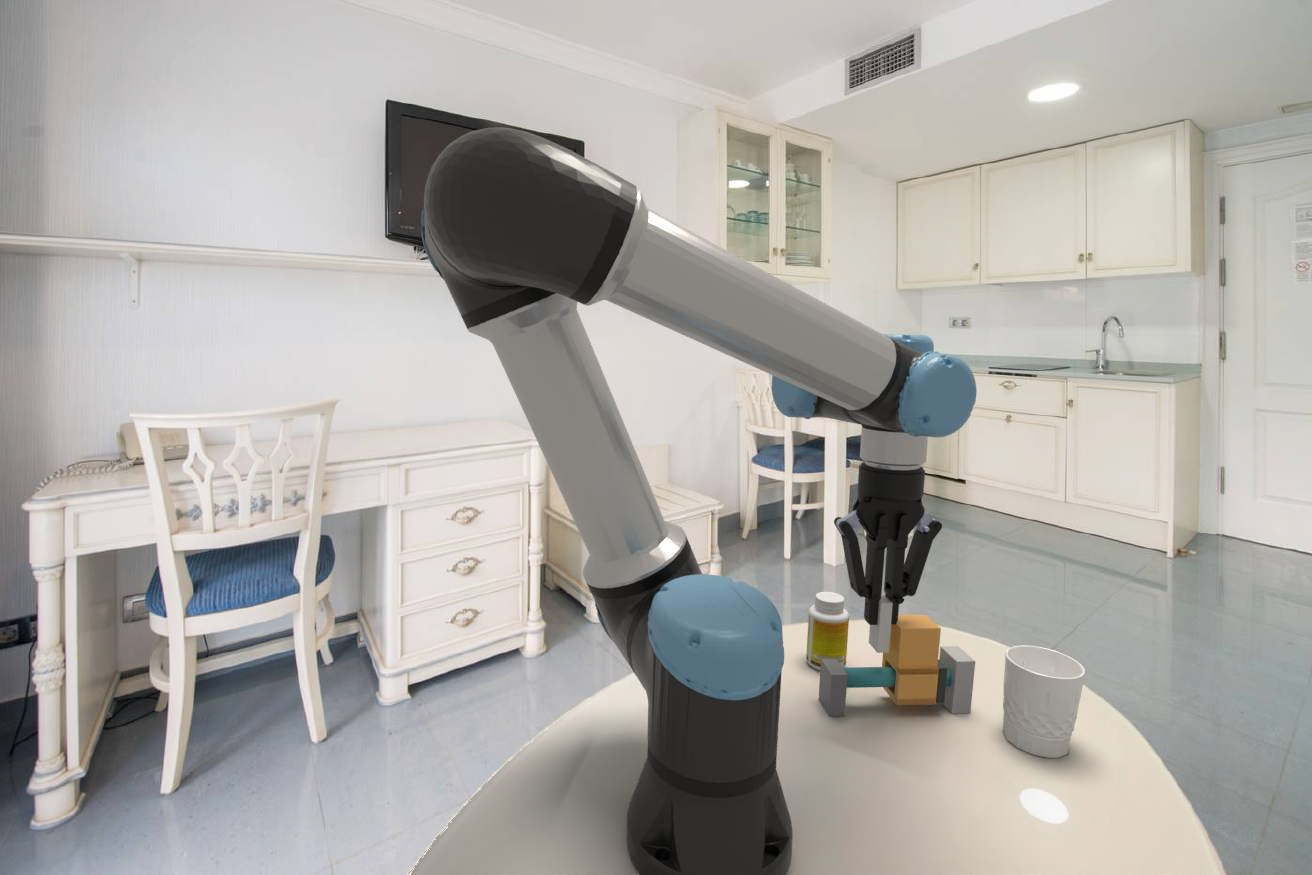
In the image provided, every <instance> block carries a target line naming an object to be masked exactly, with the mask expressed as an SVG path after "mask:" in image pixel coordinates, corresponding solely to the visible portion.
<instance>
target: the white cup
mask: <svg viewBox="0 0 1312 875" xmlns="http://www.w3.org/2000/svg"><path fill="white" fill-rule="evenodd" d="M1004 654H1005V656H1004V657H1005V658H1004V671H1003V672H1004V675H1003V699H1002V700H1003V701H1002V702H1003V703H1002V707H1003V721H1002V733H1003V735H1004V737H1005V738H1006V740H1007V741H1008V742H1010V744H1012V745H1014V746H1015V747H1016V748H1018V749H1020V750H1022V751H1024V752H1026V753H1028V754H1031V755H1035V756H1037V757H1038V756H1039V757H1043V758H1048V759H1049V758H1052V759H1053V758H1056V759H1057V758H1058V759H1059V758H1062V757H1064V756H1066V755H1068V753H1069V749H1070V744H1071V743H1070V742H1071V739H1072V738H1071V737H1072V736H1073V735H1072V734H1073V732H1074V730H1075V724H1076V721H1077V719H1078V712H1079V706H1080V702H1081V701H1080V700H1081V697H1082V691H1083V685H1084V680H1085V676H1086V669H1085V667H1084V666H1083V665H1082V664H1081V663H1080V662H1079V661H1078V660H1076V659H1074V658H1072V656H1069V655H1067V654H1065V653H1062V652H1060V651H1057V650H1054V649H1050V648H1046V647H1042V646H1038V645H1026V644H1023V645H1022V644H1021V645H1013V646H1011V647H1009V648H1007V649H1006V650H1005V653H1004Z"/></svg>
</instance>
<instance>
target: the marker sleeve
mask: <svg viewBox="0 0 1312 875" xmlns="http://www.w3.org/2000/svg"><path fill="white" fill-rule="evenodd" d="M941 630H942V629H941V627H940V626H939V625H938V624H937V623H935V622H934V621H933V620H932V619H931V618H930V617H929V616H928V615H926V614H898V621H897V623H896V624H891V632H890V646H889V653H882V661H881V667H893V668H894V669H895V671H896V682H895V687H882V688H883V689H884V691H885V692H886V693H887V695H888V696H889V697H890V699H891V700H892V701H893V702H894V704H896V706H907V705H908V706H912V705H915V706H916V705H936V704H937V703H936V695H937V684H938V674H939V668H938V667H937V665H938V660H939V655H940V644H941V643H940V642H941V633H942V632H941Z"/></svg>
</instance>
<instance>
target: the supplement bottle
mask: <svg viewBox="0 0 1312 875" xmlns="http://www.w3.org/2000/svg"><path fill="white" fill-rule="evenodd" d="M807 620H808V621H807V637H806V638H807V639H806V655H805V657H806V662H807V664H808V665H809V666H810V667H812V668H813V669H816V670H818V671H820V669H821V659H837V661H838V662H839V663H840V665H841V666H842V668H846V665H847V652H848V640H849V639H848V637H849V622H850V614H849V612H848V610H847V609H846V608H845V597H844V596H843V595H841V594H839V593H838V592H832V591H821V592H817V593H816V594H815V600H814V604H813V605H812V606H811V607H809V609H808V619H807Z"/></svg>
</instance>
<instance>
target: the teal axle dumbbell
mask: <svg viewBox="0 0 1312 875" xmlns="http://www.w3.org/2000/svg"><path fill="white" fill-rule="evenodd" d="M937 667H938V668H939V674H938V684H937V695H936V704H942V705H943V706H944V707H945V708H946V709H947V710H948V712H949V713H951V715H956V714H957V715H958V714H960V715H962V714H963V715H966V714H971V710H972V701H973V700H972V699H973V690H974V678H975V671H976V670H975V669H976V661H975V660H974V659H973V658H972V657H971V656H970V655H969V654H968V653H967V652H965V650H963V649H962V648H961V647H960V646H959V645H955V646H954V645H952V646H949V645H947V646H945V645H944V646H943V645H942V646H940V645H939V656H938V665H937ZM819 672H820V673H819V686H818V701H819V702H820V704H821V706H822V707H823V708H824V710H825V712H826V713H827V715H828V718H829V717H846V715H845V714H846V703H847V702H846V701H847V689H852V688H854V689H859V688H860V689H861V688H883V687H895V682H896V671H895V669H894V668H893V667H882V666H867V667H866V666H865V667H864V666H861V667H860V666H859V667H856V666H854V667H852V666H851V667H844V668H842V666H841V665H840V663H839V662H838V661H837V659H821V669H820V670H819Z"/></svg>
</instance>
